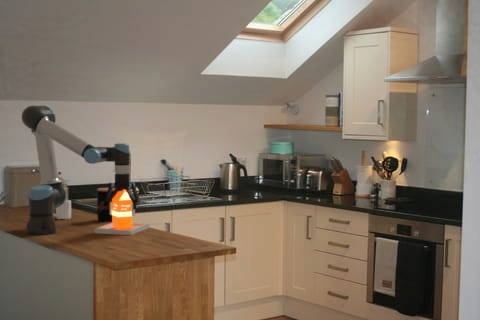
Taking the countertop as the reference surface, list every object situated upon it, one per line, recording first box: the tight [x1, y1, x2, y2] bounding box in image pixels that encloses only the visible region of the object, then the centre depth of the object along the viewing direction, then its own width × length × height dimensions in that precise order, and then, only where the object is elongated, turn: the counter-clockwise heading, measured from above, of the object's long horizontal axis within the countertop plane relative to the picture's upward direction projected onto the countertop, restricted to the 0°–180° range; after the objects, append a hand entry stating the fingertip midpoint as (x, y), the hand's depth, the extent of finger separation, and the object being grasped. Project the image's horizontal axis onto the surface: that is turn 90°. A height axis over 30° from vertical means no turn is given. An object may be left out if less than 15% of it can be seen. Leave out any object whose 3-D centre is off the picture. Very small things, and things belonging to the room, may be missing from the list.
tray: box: [94, 221, 150, 236], centre depth 360 cm, size 24×20×2 cm
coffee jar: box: [96, 187, 116, 222], centre depth 392 cm, size 11×11×18 cm
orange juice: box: [111, 189, 133, 229], centre depth 359 cm, size 8×9×20 cm
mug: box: [53, 199, 72, 220], centre depth 397 cm, size 12×8×10 cm
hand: (122, 215), depth 359 cm, fingers closed on orange juice, 11 cm apart
